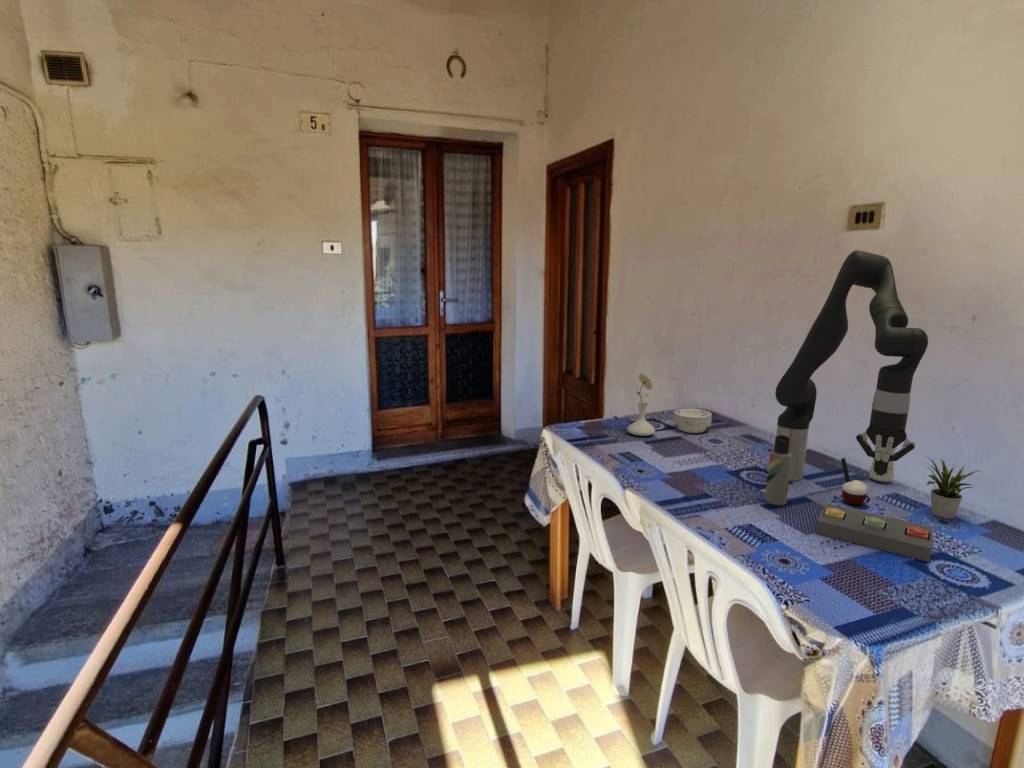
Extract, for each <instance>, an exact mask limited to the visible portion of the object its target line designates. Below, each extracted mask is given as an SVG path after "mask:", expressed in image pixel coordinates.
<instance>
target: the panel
mask: <svg viewBox="0 0 1024 768" xmlns="http://www.w3.org/2000/svg"><path fill="white" fill-rule="evenodd" d="M827 508H837V509H840V510H841V511H843V512H845V516H844V520H840V519H836V518H832V517H828V516H824V514H825V511H826V509H827ZM866 517H876V518H879V519H881V520H883V521H885V526H884V530H882V529H878V528H874V527H870V526H866V525H864V522H865V519H866ZM908 526H909V527H911V526H915V527H920V528H923V529H925V530H926V531H928V540H925V539H920V538H916V537H912V536H908V535H906V534H907V528H908ZM933 531H934V527H933V526H930V525H925V524H920V523H916V522H912V521H907V520H903V519H899V518H895V517H889V516H885V515H881V514H877V513H873V512H867V511H862V510H858V509H854V508H850V507H845V506H840V505H836V504H832V503H825V505H824V507H823V508H822V510H821V512H820V515H819V516H818V519H817V521H816V528H815V534H817V535H821V536H825V537H829V538H833V539H837V540H842V541H845V542H849V543H851V544H856V545H860V546H864V547H867V548H872V549H876V550H879V549H880V551H883V552H887V553H892V554H895V555H898V556H899V555H900V556H903V557H907V556H908V557H907V558H912V559H915V560H919V561H922V562H925V563H926V562H927V563H930V559H931V555H932V550H933V549H932V548H933V534H934V533H933Z"/></svg>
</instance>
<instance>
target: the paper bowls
mask: <svg viewBox="0 0 1024 768" xmlns="http://www.w3.org/2000/svg"><path fill="white" fill-rule="evenodd" d="M712 417H713V414H712V412H710V411H708V410H704V409H700V408H678V409H676V410H674V411H673V423H674V424H675V425H677V427H678V429H679V430H680V431H682V432H685V433H687V434H689V433H690V434H700V433H704V432H705V431H706V429H707V428H709V427H711V426H712V420H713V419H712Z"/></svg>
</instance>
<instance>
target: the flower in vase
mask: <svg viewBox="0 0 1024 768" xmlns="http://www.w3.org/2000/svg"><path fill="white" fill-rule="evenodd" d="M638 380H639V381H640V383H641V386H640V388H639V390H636V394H637V395H638V396H639V397H640V399H639V400H635V401H636V403H637V406H638V418H637V419H636V420H635V421H634V422H632V423H631V424H629V425H628V426H627V428H626V431H627V432H628V433H629V434H632V435H634V436H639V437H640V436H641V437H644V436H645V437H646V436H652V435H654V434H655V433H656V429H655V427H654V425H652V424H650V423H649V422H648V421H647V419H646V418H645V417H646V416H645V415H646V414H645V413H646V408H647V406H648V404H649V400H644V399H643V398H644V397H647V396H648V394H646V395H643V396H642V394H641V390H642V388H643V386H644V388H646V389H647V390H652V389H653V384H652V381H651V379H650V378H649V376H647V375H646V374H644V373H643V372H642V373H639V374H638Z"/></svg>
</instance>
